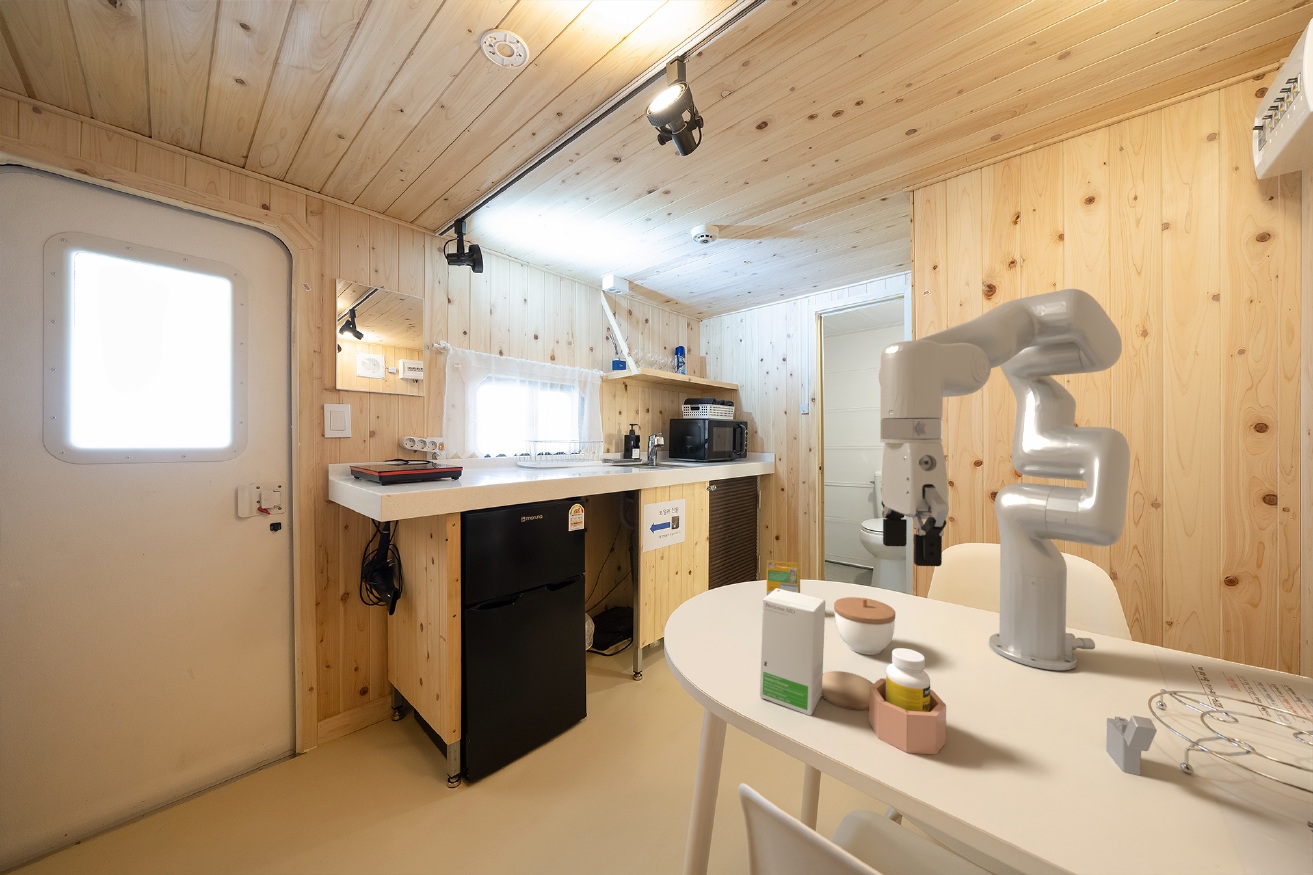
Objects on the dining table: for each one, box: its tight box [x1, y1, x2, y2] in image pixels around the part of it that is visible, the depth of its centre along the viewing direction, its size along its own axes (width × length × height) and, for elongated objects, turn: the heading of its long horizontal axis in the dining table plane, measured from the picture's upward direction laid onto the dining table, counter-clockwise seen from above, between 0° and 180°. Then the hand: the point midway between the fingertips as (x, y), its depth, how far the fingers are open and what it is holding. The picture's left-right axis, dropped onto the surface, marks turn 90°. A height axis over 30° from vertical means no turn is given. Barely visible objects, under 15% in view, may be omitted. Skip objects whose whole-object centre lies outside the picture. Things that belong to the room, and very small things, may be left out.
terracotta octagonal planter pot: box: [868, 677, 947, 756], centre depth 63 cm, size 9×9×5 cm
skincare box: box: [759, 588, 826, 716], centre depth 71 cm, size 8×7×16 cm
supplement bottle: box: [885, 647, 931, 712], centre depth 63 cm, size 5×5×10 cm
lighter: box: [1105, 715, 1158, 777], centre depth 56 cm, size 7×2×8 cm, turn 156°
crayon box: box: [766, 559, 801, 596], centre depth 106 cm, size 7×3×12 cm, turn 69°
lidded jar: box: [833, 596, 896, 656], centre depth 88 cm, size 11×11×9 cm
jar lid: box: [821, 670, 874, 711], centre depth 73 cm, size 9×9×1 cm
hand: (909, 554), depth 64 cm, fingers open, 9 cm apart
